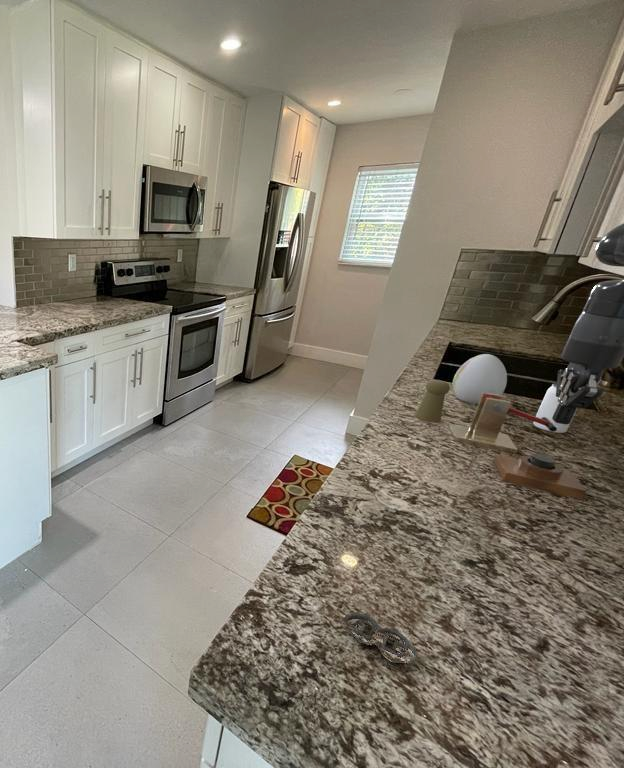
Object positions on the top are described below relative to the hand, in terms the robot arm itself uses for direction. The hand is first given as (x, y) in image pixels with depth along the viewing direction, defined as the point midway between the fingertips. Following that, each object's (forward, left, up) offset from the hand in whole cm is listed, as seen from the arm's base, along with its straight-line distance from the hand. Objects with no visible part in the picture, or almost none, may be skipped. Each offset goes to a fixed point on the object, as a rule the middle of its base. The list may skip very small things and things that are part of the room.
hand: (559, 422), depth 83 cm
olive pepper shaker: (+16, -26, -14) cm, 33 cm away
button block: (0, 0, -14) cm, 14 cm away
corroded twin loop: (+30, +61, -14) cm, 69 cm away
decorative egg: (+2, -50, -14) cm, 52 cm away
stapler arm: (+1, -17, -6) cm, 18 cm away
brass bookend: (+6, -17, -14) cm, 23 cm away
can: (-12, -36, -14) cm, 40 cm away
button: (0, 0, -10) cm, 10 cm away
